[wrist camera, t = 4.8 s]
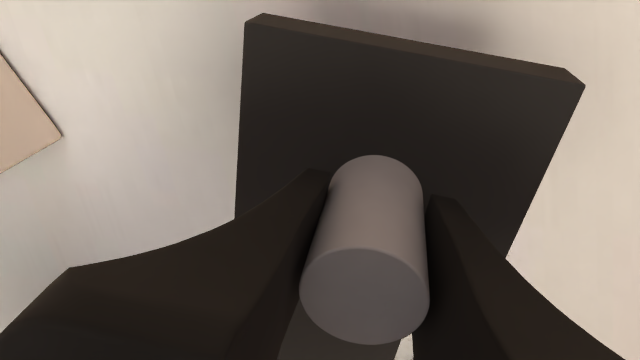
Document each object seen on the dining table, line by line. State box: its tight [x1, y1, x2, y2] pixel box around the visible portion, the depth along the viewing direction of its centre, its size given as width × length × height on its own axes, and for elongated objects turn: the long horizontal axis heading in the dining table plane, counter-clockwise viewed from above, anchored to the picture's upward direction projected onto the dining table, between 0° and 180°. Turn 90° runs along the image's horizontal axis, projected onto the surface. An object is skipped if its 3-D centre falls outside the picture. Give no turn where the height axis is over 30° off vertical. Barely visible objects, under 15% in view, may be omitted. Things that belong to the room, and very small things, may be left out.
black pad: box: [234, 13, 585, 360], centre depth 12 cm, size 8×13×6 cm, turn 172°
